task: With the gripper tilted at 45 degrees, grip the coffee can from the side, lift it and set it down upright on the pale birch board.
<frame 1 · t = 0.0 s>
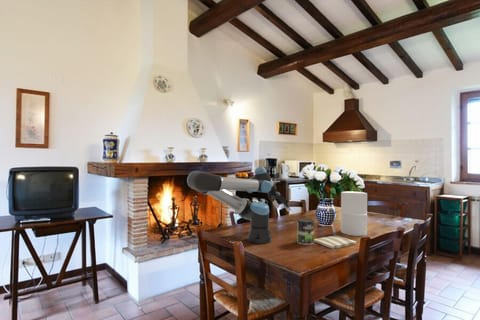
hand: (283, 209, 211), 15 cm above the table, tool tilted 35°, fingers open, 13 cm apart
birch board: (334, 242, 182), on the table
coffee can: (305, 242, 182), on the table
cylinder: (353, 232, 207), on the table
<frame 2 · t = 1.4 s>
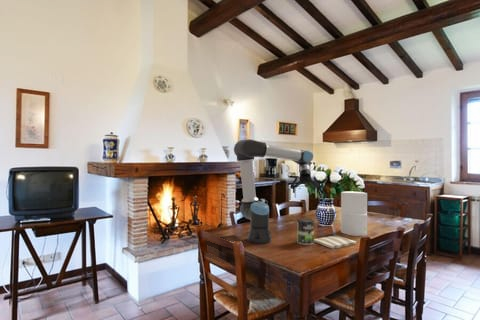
hand: (305, 196, 192), 27 cm above the table, tool tilted 45°, fingers open, 13 cm apart
nothing on the table moved.
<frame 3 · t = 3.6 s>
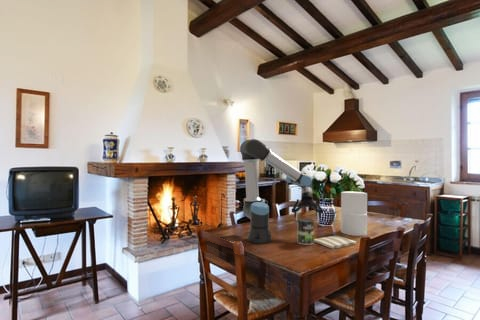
hand: (307, 221, 188), 12 cm above the table, tool tilted 45°, fingers open, 13 cm apart
nothing on the table moved.
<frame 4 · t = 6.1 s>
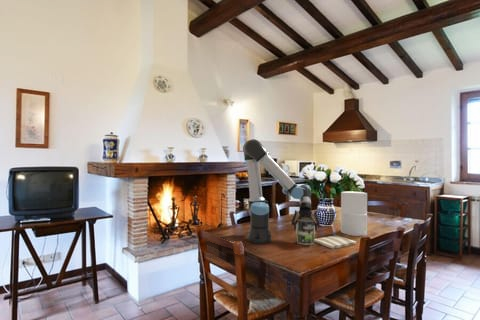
hand: (305, 234, 179), 6 cm above the table, tool tilted 45°, fingers closed on coffee can, 10 cm apart
coffee can: (305, 242, 182), on the table, touching gripper
everything else where it was.
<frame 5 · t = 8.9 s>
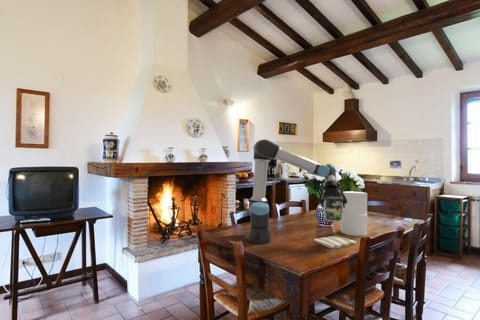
hand: (333, 212, 179), 20 cm above the table, tool tilted 45°, fingers closed on coffee can, 10 cm apart
coffee can: (333, 220, 182), point 14 cm above the table, touching gripper
everything else where it was.
when the fingers open (8 cm above the table, at t = 12.1 s): coffee can drops 1 cm, resting on birch board.
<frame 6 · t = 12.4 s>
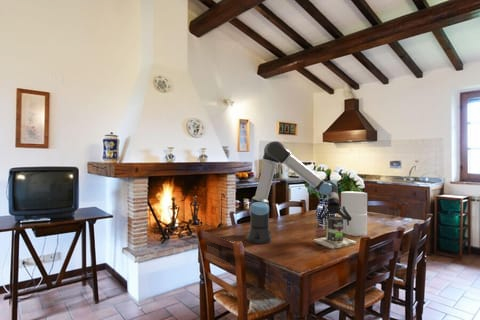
hand: (335, 229, 179), 9 cm above the table, tool tilted 45°, fingers open, 13 cm apart
coffee can: (334, 240, 182), point 1 cm above the table, touching birch board
everything else where it was.
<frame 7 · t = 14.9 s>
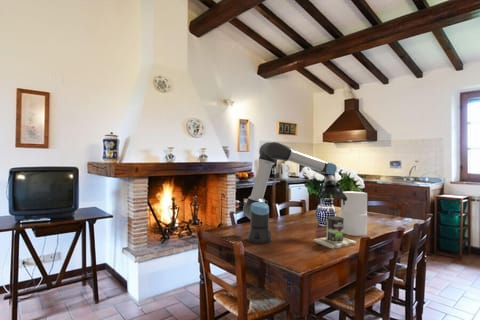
hand: (331, 208, 193), 20 cm above the table, tool tilted 45°, fingers open, 13 cm apart
nothing on the table moved.
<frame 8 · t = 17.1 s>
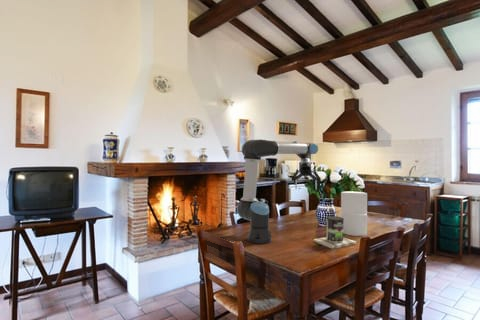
hand: (306, 188, 201), 32 cm above the table, tool tilted 45°, fingers open, 13 cm apart
nothing on the table moved.
at the end: coffee can inside the target area on the birch board (0.1 cm from its centre), point 1.3 cm above the birch board's base; coffee can tilted 0°; the gripper is holding nothing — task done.
